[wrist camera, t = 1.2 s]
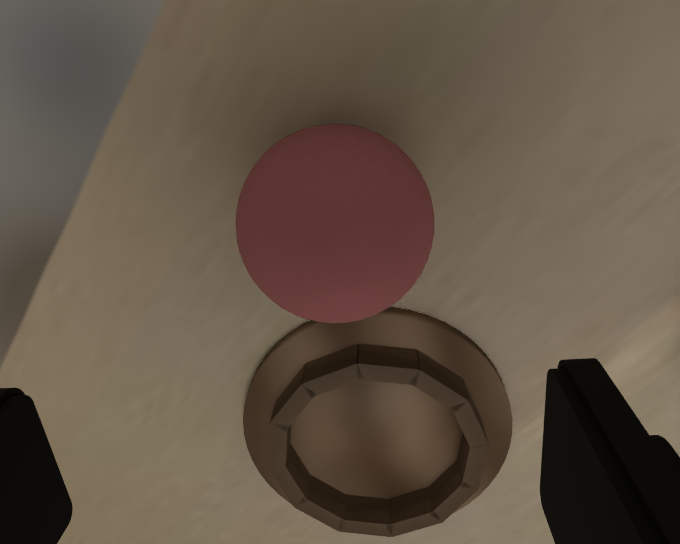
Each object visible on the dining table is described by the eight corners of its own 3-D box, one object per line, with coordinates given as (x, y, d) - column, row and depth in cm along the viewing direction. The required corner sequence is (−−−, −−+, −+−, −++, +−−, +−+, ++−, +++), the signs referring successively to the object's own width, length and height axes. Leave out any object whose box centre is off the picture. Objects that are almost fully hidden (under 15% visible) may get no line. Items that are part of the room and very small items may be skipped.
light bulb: (247, 147, 28) (165, 228, 17) (368, 65, 26) (365, 96, 15) (326, 259, 30) (298, 394, 19) (443, 191, 28) (487, 298, 17)
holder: (452, 264, 30) (460, 289, 27) (542, 476, 35) (556, 515, 33) (198, 364, 33) (182, 395, 31) (317, 543, 39) (312, 582, 36)
